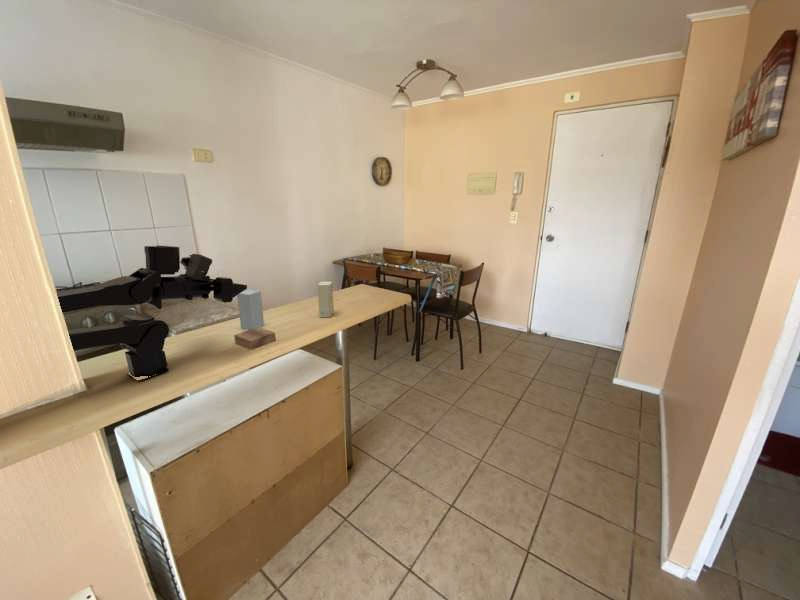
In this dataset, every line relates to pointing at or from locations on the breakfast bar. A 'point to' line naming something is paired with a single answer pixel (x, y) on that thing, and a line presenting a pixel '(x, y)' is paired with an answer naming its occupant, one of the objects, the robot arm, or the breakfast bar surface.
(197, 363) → the breakfast bar surface
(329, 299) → the skincare box
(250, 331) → the walnut block
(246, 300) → the pillar
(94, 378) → the breakfast bar surface
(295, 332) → the breakfast bar surface
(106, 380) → the breakfast bar surface
